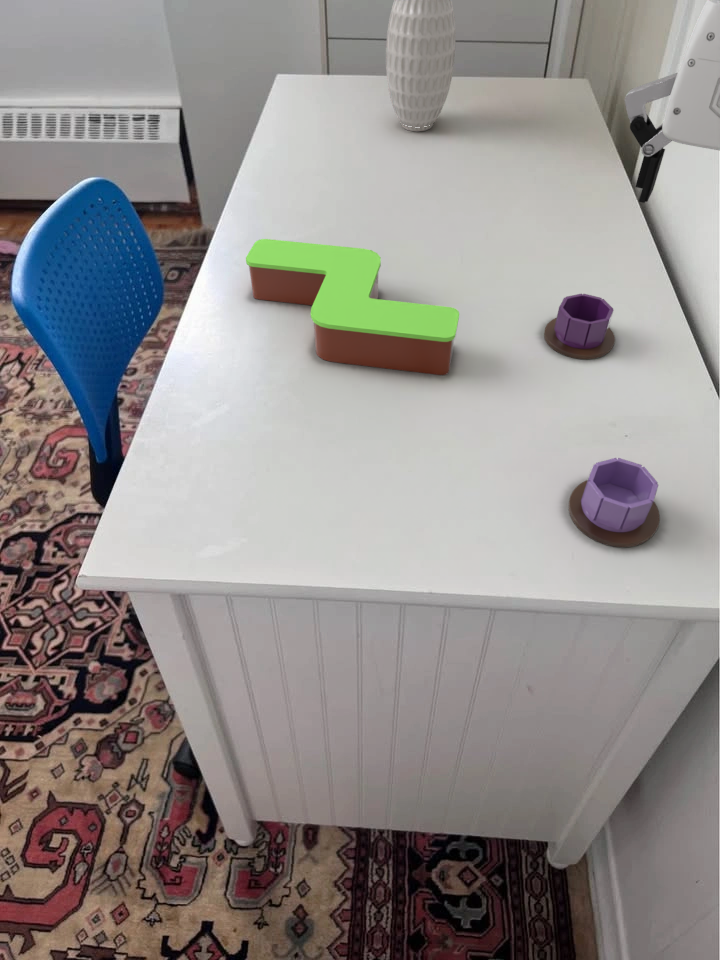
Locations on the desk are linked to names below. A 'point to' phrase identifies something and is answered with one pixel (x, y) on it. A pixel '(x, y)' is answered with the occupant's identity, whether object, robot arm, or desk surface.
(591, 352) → the coaster far
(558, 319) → the dish plum
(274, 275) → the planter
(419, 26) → the vase
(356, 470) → the desk surface
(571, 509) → the coaster near
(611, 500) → the dish lilac
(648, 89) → the robot arm
